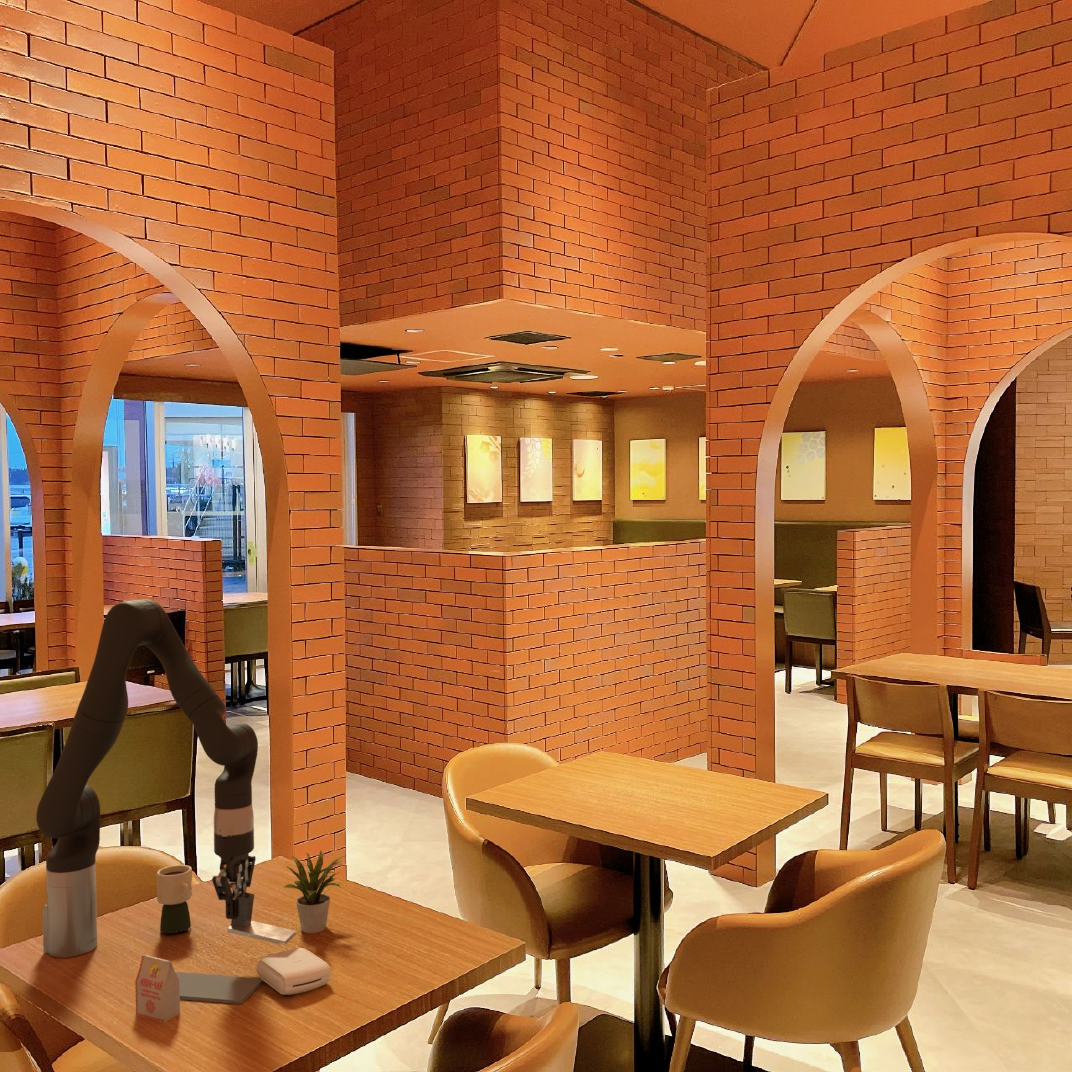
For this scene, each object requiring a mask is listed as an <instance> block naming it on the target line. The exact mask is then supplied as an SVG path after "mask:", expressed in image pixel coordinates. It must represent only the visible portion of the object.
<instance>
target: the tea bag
mask: <svg viewBox="0 0 1072 1072" xmlns="http://www.w3.org/2000/svg"><path fill="white" fill-rule="evenodd" d="M134 982H135V1016H138V1015H139V1016H138V1017H142V1016H143V1017H142V1018H145V1017H146V1018H147V1019H149V1020H153V1021H156V1022H159V1021H161V1022H160V1023H163V1022H164V1023H166V1022H167V1021H168V1022H169V1020H171V1019H173V1018H174V1017H176V1016H178V1015H180V1014H181V1001H180V1000H181V999H180V989H179V979H178V977H177V975H176V971H175V968H174V967H173V962H172V961H171V960H168V959H163V958H159V957H155V956H152V955H147V954H142V955H141V961H140V965H139V969H138V972H137V975H136V978H135V981H134ZM165 1021H166V1022H165Z"/></svg>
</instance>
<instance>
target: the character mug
mask: <svg viewBox="0 0 1072 1072" xmlns="http://www.w3.org/2000/svg"><path fill="white" fill-rule="evenodd" d="M192 880H193V870H192V867H191V866H190V865H187V864H186V865H185V864H176V865H175V864H174V865H168V866H165V867H162V868H160V869H159V870H157V872H156V899H157V902H158V904H160V905H163V906H162V907H161V908H162V909H161V915H160V924H159V925H160V927H159V931H160V932H161V933H162V934H172V933H180V932H182V931H188V930H190V928H191V926H192V923H191V916H190V910H189V903H188V902H187V901H188V900H190V899H191V897H192V896H193V888H192V882H193V881H192Z"/></svg>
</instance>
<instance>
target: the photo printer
mask: <svg viewBox="0 0 1072 1072" xmlns="http://www.w3.org/2000/svg"><path fill="white" fill-rule="evenodd" d="M255 969H256V973H257V975H258V976H259V977H258V978H261V979H262V980H263V981H264V982H263V983H266V984H267V985H268V986H270V987H271V988H272V989H274V990H276V992H278V993H279V994H281V995H285V996H286V995H288V996H289V995H297V994H301V993H306V992H309V991H312V990H315V989H318V988H320V987H322V986H324V985H327V983H329V982H330V980H331V979H332V977H331V973H332V972H331V967H330V965H329V964H328V963H327V962H326V961H325V960H323V959H322V958H320V957H318V955H316V954H314V953H312V952H311V951H309V950H308V949H306V948H304V947H299V948H292V949H288V950H284V951H281V952H277V953H273V954H269V955H266V956H263V957H261V958H260V959H259V960H258V962H257V964H256V968H255Z"/></svg>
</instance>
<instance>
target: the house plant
mask: <svg viewBox="0 0 1072 1072" xmlns="http://www.w3.org/2000/svg"><path fill="white" fill-rule="evenodd" d="M306 855H307V860H308V864H306V867H307V868H308V870H309V871H308V872H306V870H305V867H304V865H303V863H302V862H301V861H300V860H299V859H298V858H297V857H295V856H294V855H291V857H292V860H293V861H294V863H295V865H296V868H297V870H298V872H296V871H295V870H294V869H293V868H291V867H290V866H285V867H286V868H287V869H288V870H290V872H291V873H292V874H294V875H295V877H296V878H297V879H298V880H295V881H294V884H292V883H290V884H286V885H285V886H283V887H282V889H283V888H284V889H285V888H286V889H287V888H288V889H296V890H299V891H300V892H301V893H302V896H299V897H298V898H296V900H295V902H296V907H297V913H298V918H299V925H300V929H301V932H303V933H305V934H317V933H320V932H323V931H325V930H326V929H327V922H328V917H329V915H328V914H329V909H330V902H331V900H330V899H331V897H330V896H329V895H328V894H326V893H327V891H329V890H330V889H331V888H332V887H331V886H335V887H339V888H340V889H342V887H341V886H340V884H339V883H336V882H333V881H335V880H336V878H334V877H335V876H336V875H338V874H339V872H333V871H331V870H332V869H333V868H334V867H336V866H341V865H342V861H340V860H342V859H343V858H345V857H346V855H344V856H340V857H338V858H336V859H335V860H333V861H332V862H331V863H330V864H329V865H328V866H327V867H325V868H323V869H322V867H323V865H324V856H325V852H322V850H320V852H319V854H318V858H317V860H316V862H315V865H313V862H312V860H311V857H310V855H309V853H308V852H306ZM307 874H308V875H307ZM329 874H332V875H329ZM308 878H309V879H308ZM328 886H330V888H329V889H328V890H326V891H325V892H324V889H325V888H326V887H328ZM323 892H324V893H323ZM324 929H325V930H324Z"/></svg>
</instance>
